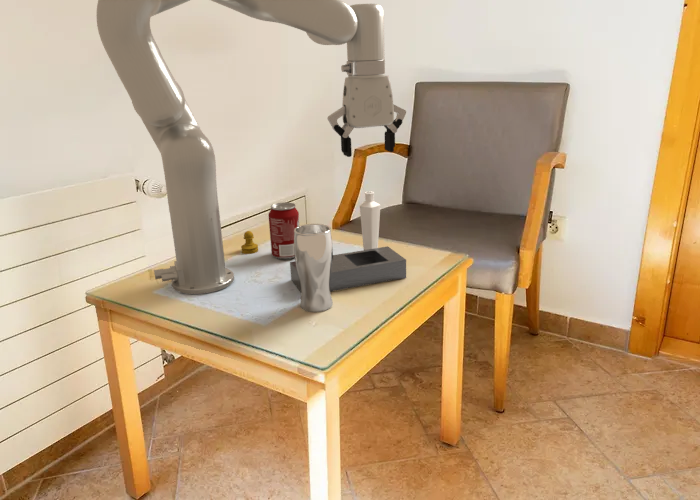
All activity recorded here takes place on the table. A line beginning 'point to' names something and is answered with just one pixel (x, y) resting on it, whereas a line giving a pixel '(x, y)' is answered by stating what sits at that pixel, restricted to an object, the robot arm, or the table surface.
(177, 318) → the table surface
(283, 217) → the soda can
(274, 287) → the table surface
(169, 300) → the table surface
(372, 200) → the perfume bottle
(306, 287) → the beer glass
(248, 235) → the chess piece
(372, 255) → the grey block with hole
